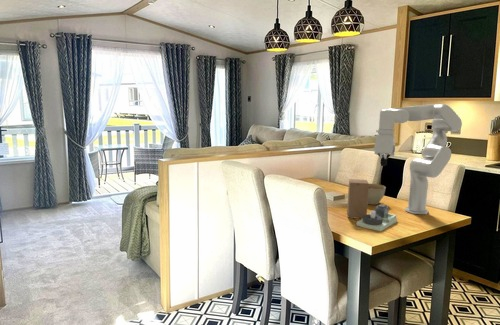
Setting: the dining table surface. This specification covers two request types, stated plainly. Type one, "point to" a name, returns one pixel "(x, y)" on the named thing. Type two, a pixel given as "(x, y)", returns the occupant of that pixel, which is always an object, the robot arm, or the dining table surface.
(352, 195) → the wooden block
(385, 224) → the chassis
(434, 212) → the dining table surface
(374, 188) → the planter bowl
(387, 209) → the block
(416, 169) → the robot arm
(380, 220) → the faceted grey bowl
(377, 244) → the dining table surface
